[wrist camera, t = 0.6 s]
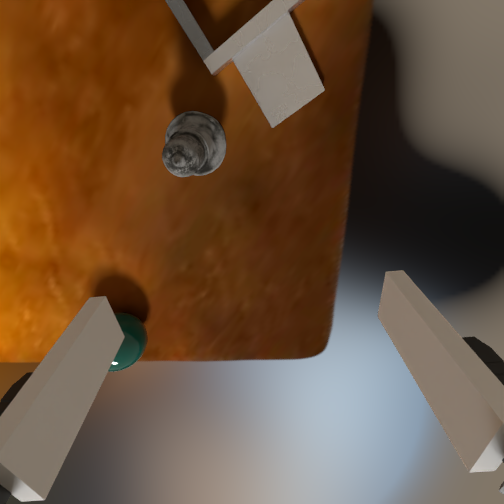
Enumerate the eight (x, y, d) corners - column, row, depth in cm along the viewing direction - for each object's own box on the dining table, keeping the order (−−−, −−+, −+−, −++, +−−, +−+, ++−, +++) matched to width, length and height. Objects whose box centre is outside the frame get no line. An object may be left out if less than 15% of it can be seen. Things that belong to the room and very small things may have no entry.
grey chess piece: (197, 95, 28) (167, 95, 17) (239, 140, 30) (235, 163, 19) (162, 139, 30) (115, 163, 19) (204, 178, 32) (182, 218, 21)
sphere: (121, 291, 40) (94, 333, 33) (165, 321, 43) (148, 365, 36) (91, 320, 42) (60, 364, 35) (134, 346, 45) (113, 391, 38)
